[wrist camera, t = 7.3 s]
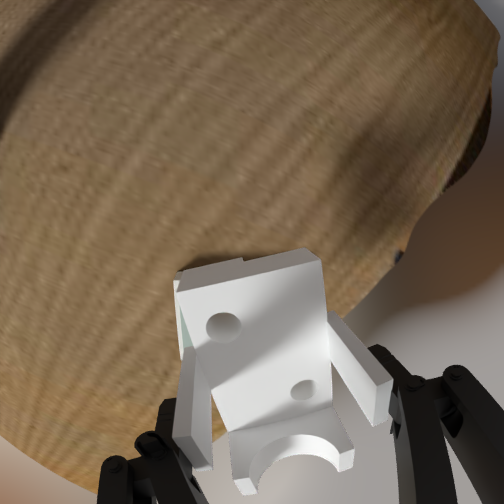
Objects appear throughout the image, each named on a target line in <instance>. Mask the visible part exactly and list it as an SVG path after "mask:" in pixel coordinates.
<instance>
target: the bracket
mask: <svg viewBox="0 0 504 504" xmlns="http://www.w3.org/2000/svg"><path fill="white" fill-rule="evenodd" d="M176 295H177V299H178V302H179V305H180V308H181V311H182V314H183V317H184V320H185V323H186V326H187V329H188V332H189V335H190V338H191V341H192V343H193V346H194V349H195V352H196V354H197V356H198V359H199V362H200V364H201V367H202V369H203V372H204V374H205V377H206V379H207V382H208V384H209V386H210V389H211V393H212V396H213V398H214V401H215V403H216V405H217V408H218V410H219V412H220V415H221V417H222V419H223V422H224V424H225V426H226V428H227V431H228V435H229V445H230V455H231V465H232V475H233V481H234V482H235V484H236V485H237V487H238V489H239V490H240V492H241V493H242V495H243V496H245V495H251V494H257V493H258V483H259V480H260V478H261V476H262V474H263V473H264V471H265V470H266V469H267V468H268V467H269V466H271V465H272V464H273V463H275V462H276V461H278V460H280V459H283V458H285V457H288V456H292V455H299V454H310V455H316V456H319V457H322V458H324V459H326V460H328V461H330V462H331V463H332V464H333V465H334V466H335V467H336V469H337V470H338V472H341V471H344V470H346V469H349V468H352V467H353V460H354V452H355V448H354V446H353V444H352V442H351V440H350V438H349V436H348V434H347V432H346V430H345V428H344V427H343V425H342V423H341V421H340V419H339V417H338V415H337V413H336V411H335V409H334V408H333V399H332V376H331V360H330V351H329V340H328V330H327V321H328V320H327V309H326V299H325V290H324V281H323V273H322V265H321V259H320V258H318V257H317V256H316V255H314V254H313V253H312V252H310V251H309V250H308V249H306V248H300V249H296V250H292V251H287V252H283V253H279V254H274V255H270V256H266V257H261V258H257V259H253V260H248V261H243V258H242V257H241V258H236V259H232V260H227V261H223V262H219V263H214V264H210V265H205V266H201V267H196V268H192V269H188V270H184V271H183V273H182V276H181V279H180V282H179V285H178V288H177V290H176ZM221 312H226V313H221Z"/></svg>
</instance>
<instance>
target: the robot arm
mask: <svg viewBox="0 0 504 504" xmlns="http://www.w3.org/2000/svg"><path fill="white" fill-rule="evenodd" d="M327 320H328V321H327V330H328V340H329V351H330V360H331V362H332V363H333V365H334V366H335V368H336V369H337V371H338V373H339V374H340V376H341V377H342V379H343V380H344V382H345V384H346V385H347V387H348V389H349V390H350V392H351V393H352V395H353V396H354V398H355V400H356V401H357V403H358V404H359V406H360V408H361V409H362V411H363V412H364V414H365V416H366V417H367V419H368V420H369V422H370V424H371V425H372V427H373V426H376V425H378V424H380V423H382V422H384V421H386V420H387V419H388V413H389V414H390V415H391V416H392V418H393V421H392V426H391V430H390V434H392V433H393V435H394V443H395V452H396V461H397V473H398V487H399V504H458V503H457V496H456V490H455V484H454V479H453V473H452V468H451V464H450V459H449V455H448V450H447V446H446V443H445V438H446V439H447V441H448V443H449V444H450V446H451V447H452V449H453V451H454V452H455V454H456V456H457V458H458V459H459V461H460V463H461V465H462V467H463V468H464V470H465V472H466V474H467V475H468V477H469V479H470V481H471V483H472V485H473V487H474V488H475V490H476V492H477V494H478V496H479V498H480V500H481V502H482V504H504V410H503V409H502V408H501V407H500V405H499V404H498V403H497V402H496V401H495V400H494V398H493V397H492V396H491V395H490V394H489V393H488V391H487V390H486V389H485V388H484V387H483V386H482V385H481V384H480V382H479V381H478V380H477V379H476V378H475V377H474V376H473V375H472V374H471V373H470V371H469V370H468V369H467V368H465V367H464V366H461V365H452V366H449V367H447V368H446V369H445V371H444V372H443V376H441V377H437V378H434V379H428V380H426V379H424V378H423V377H421V376H417V375H411V374H410V373H409V372H408V370H406V368H405V367H404V366H403V365H402V364H401V363H400V362H399V361H398V360H397V359H396V358H395V357H394V356H393V355H391V353H390V352H389V351H388V350H387V349H386V348H385V347H383V346H381V345H378V344H376V345H374V346H371V347H368V348H366V347H365V345H364V344H363V343H362V342H361V341H360V340H359V339H358V337H357V336H356V335H355V334H354V333H353V332H352V331H351V329H350V328H349V327H348V326H347V325H346V324H345V323H344V322H343V320H342V319H341V318H340V317H339V316H338V315H337V314H336V312H335V311H334V310H333V311H330V312H327ZM443 434H444V435H443ZM444 436H445V438H444ZM134 447H135V448H136V450H137V451H138V452H139V453H140V454H141V457H138V458H134V459H131V460H126V459H125V458H124V457H122V456H118V455H115V456H110V457H109V458H107V459H106V460H105V461H104V462H103V464H102V466H101V472H100V480H99V488H98V496H97V504H157V503H156V502H157V501H158V504H209V503H208V501H207V499H206V498H205V496H204V494H203V492H202V490H201V488H200V486H199V484H198V482H197V480H196V478H195V477H194V476H193V475H192V466H193V467H194V469H195V470H196V471H205V470H213V454H212V419H211V389H210V386H209V384H208V382H207V379H206V377H205V374H204V372H203V369H202V367H201V364H200V362H199V359H198V356H197V354H196V352H195V349H194V346H190V347H185V348H184V352H183V359H182V365H181V372H180V379H179V386H178V393H177V398H171V399H164V401H163V402H162V404H161V405H160V407H159V411H158V417H157V422H156V427H155V431H147V432H145V433H143V434H141V435H140V436H139V437H137V439H136V441H135V445H134ZM156 498H157V501H156Z"/></svg>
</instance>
